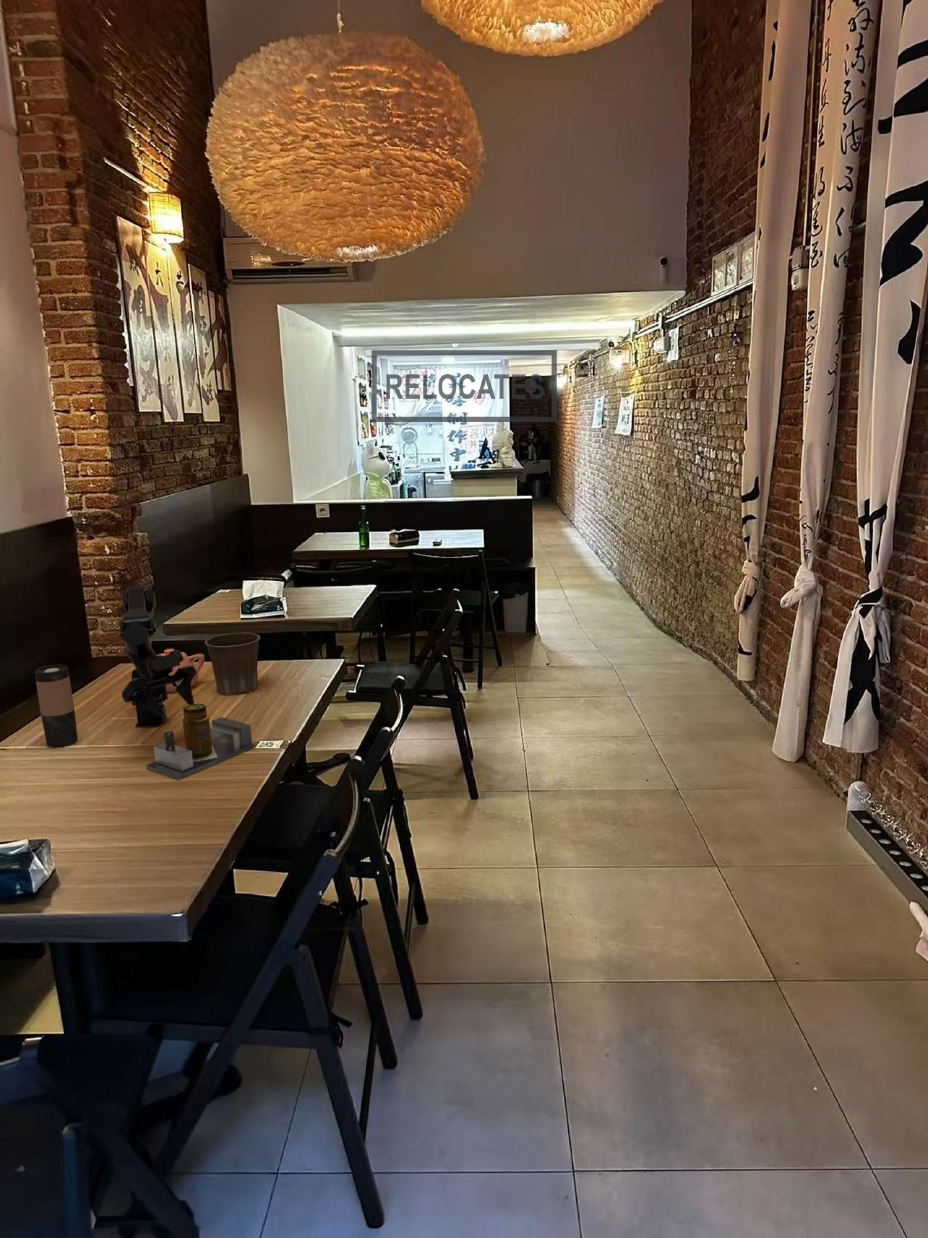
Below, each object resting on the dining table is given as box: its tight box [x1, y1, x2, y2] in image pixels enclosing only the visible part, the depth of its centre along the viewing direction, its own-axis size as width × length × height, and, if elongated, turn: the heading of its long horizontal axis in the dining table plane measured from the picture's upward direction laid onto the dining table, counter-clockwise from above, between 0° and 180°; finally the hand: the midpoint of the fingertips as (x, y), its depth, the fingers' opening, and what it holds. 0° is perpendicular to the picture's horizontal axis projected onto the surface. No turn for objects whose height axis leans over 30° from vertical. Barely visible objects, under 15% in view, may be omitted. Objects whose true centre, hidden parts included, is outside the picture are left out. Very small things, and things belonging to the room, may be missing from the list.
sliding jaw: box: [153, 730, 193, 771], centre depth 181 cm, size 3×10×8 cm, turn 56°
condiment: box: [182, 703, 217, 762], centre depth 186 cm, size 7×8×12 cm
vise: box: [145, 716, 255, 781], centre depth 187 cm, size 22×12×6 cm, turn 146°
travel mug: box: [34, 664, 78, 749], centre depth 198 cm, size 8×8×20 cm
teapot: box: [156, 648, 206, 693], centre depth 243 cm, size 22×15×12 cm
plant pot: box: [204, 632, 261, 695], centre depth 239 cm, size 16×16×16 cm
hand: (178, 710), depth 190 cm, fingers open, 9 cm apart
